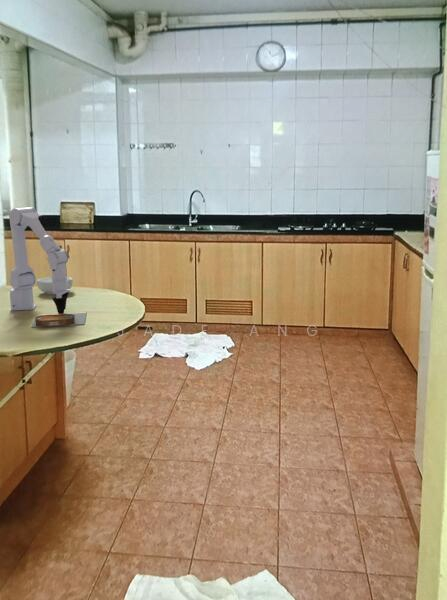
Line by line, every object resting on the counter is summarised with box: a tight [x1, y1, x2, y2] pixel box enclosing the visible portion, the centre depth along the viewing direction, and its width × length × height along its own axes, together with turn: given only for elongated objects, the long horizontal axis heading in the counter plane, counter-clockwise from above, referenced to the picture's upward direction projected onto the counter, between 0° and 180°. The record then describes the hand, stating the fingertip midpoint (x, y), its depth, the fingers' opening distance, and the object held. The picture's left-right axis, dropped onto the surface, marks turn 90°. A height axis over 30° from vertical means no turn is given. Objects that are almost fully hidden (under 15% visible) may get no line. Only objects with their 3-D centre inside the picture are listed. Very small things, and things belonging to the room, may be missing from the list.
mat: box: [30, 312, 88, 329], centre depth 241 cm, size 20×18×1 cm
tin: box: [34, 313, 75, 327], centre depth 235 cm, size 15×3×8 cm
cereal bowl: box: [36, 276, 73, 296], centre depth 293 cm, size 17×17×7 cm
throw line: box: [44, 311, 88, 315], centre depth 251 cm, size 20×1×1 cm, turn 100°
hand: (61, 311), depth 250 cm, fingers open, 7 cm apart
